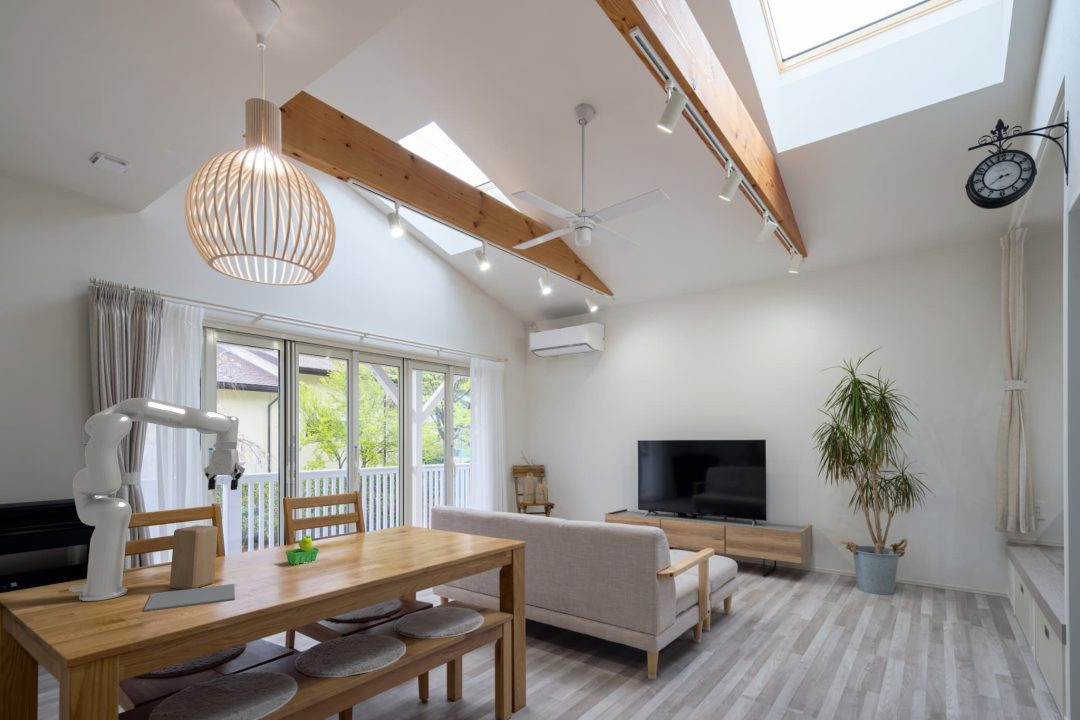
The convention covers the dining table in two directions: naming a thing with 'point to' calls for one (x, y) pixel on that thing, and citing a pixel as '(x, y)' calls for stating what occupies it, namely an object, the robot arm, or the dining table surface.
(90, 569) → the robot arm
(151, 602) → the mat
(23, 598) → the dining table surface
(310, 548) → the fruit basket
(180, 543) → the wooden block
